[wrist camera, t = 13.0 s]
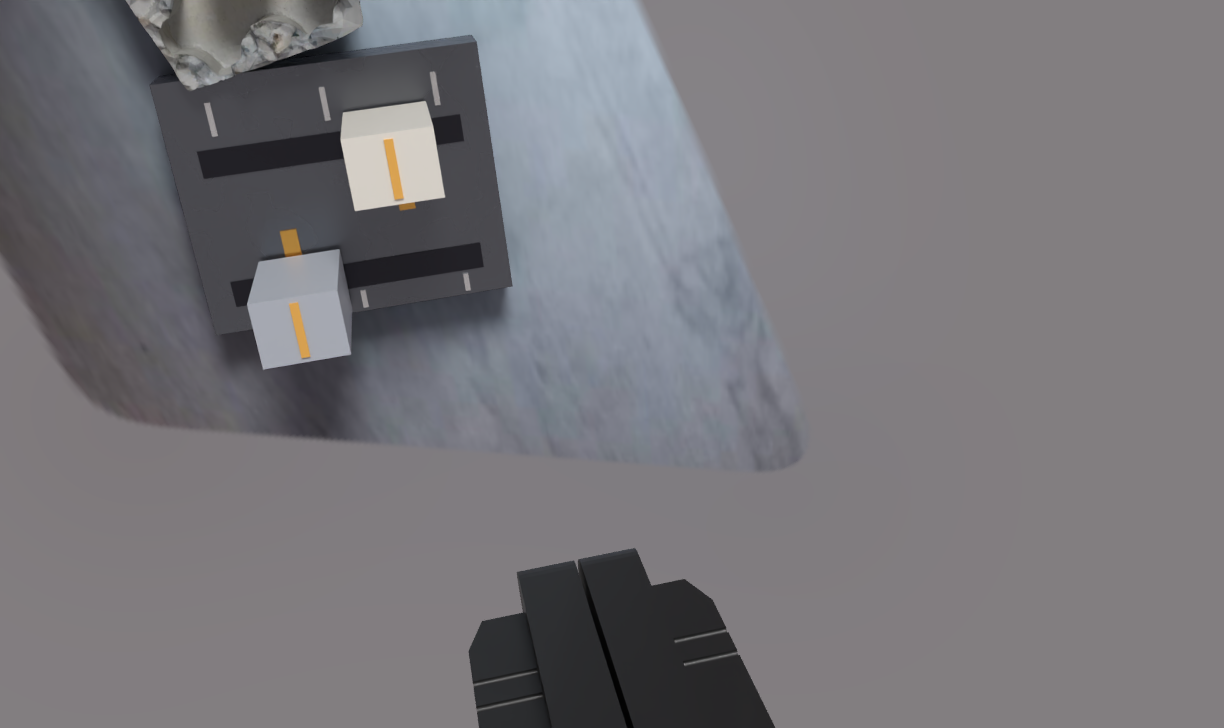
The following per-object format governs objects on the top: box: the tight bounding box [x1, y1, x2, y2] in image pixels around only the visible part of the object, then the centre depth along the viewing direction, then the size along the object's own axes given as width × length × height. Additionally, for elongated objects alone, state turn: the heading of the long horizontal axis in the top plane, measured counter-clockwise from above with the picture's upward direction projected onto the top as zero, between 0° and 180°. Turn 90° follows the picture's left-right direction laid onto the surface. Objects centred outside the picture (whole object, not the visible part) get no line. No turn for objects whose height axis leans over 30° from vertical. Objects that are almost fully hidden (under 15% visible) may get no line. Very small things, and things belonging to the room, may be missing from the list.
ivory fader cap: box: [340, 101, 445, 211], centre depth 39 cm, size 2×3×5 cm
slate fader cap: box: [247, 249, 352, 369], centre depth 41 cm, size 2×3×5 cm
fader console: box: [150, 35, 512, 335], centre depth 43 cm, size 10×12×2 cm
